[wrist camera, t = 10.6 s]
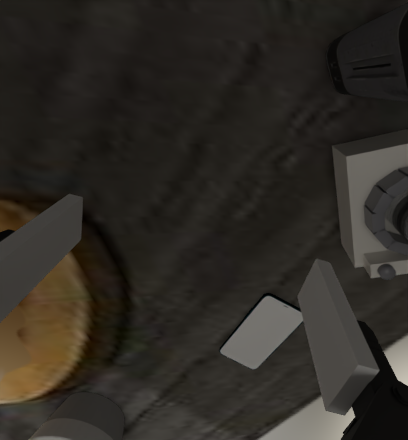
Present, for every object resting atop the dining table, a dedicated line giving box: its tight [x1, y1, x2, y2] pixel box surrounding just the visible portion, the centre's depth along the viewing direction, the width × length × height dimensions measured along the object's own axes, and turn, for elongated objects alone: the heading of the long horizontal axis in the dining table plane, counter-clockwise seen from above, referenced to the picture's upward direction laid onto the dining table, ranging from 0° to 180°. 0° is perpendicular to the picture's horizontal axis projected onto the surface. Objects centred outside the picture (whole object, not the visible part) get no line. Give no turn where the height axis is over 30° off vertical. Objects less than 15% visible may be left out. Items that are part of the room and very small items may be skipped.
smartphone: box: [220, 293, 303, 369], centre depth 51 cm, size 8×1×16 cm
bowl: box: [29, 392, 125, 440], centre depth 62 cm, size 19×19×11 cm
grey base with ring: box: [332, 129, 408, 280], centre depth 34 cm, size 14×12×9 cm
